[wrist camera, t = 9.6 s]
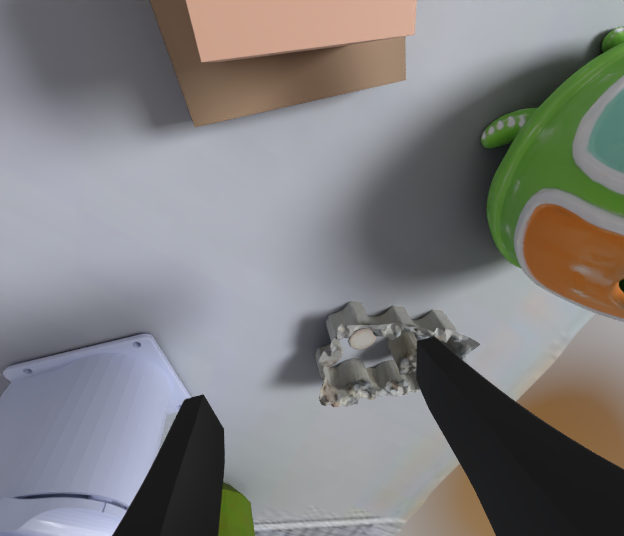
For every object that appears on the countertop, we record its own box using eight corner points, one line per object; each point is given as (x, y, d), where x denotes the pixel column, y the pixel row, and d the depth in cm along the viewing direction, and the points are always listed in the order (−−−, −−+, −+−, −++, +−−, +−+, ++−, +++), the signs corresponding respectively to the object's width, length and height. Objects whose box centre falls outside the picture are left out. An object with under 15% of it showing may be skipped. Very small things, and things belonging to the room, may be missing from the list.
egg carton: (304, 363, 26) (312, 408, 23) (335, 288, 23) (350, 329, 19) (417, 373, 29) (439, 415, 26) (460, 309, 26) (492, 347, 22)
